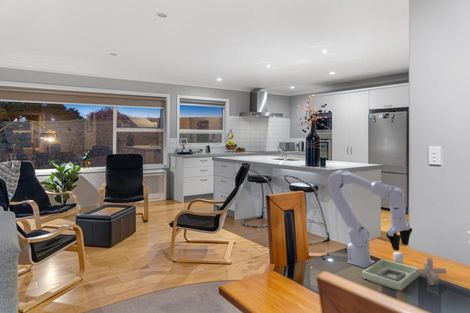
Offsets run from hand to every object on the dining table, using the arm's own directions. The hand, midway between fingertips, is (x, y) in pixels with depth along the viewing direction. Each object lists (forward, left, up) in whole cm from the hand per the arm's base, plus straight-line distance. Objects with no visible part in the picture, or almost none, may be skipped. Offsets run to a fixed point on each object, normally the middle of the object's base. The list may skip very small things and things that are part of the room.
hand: (400, 247), depth 139 cm
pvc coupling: (-2, +1, -9) cm, 10 cm away
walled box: (0, -10, -9) cm, 14 cm away
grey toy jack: (+14, -6, -10) cm, 18 cm away
